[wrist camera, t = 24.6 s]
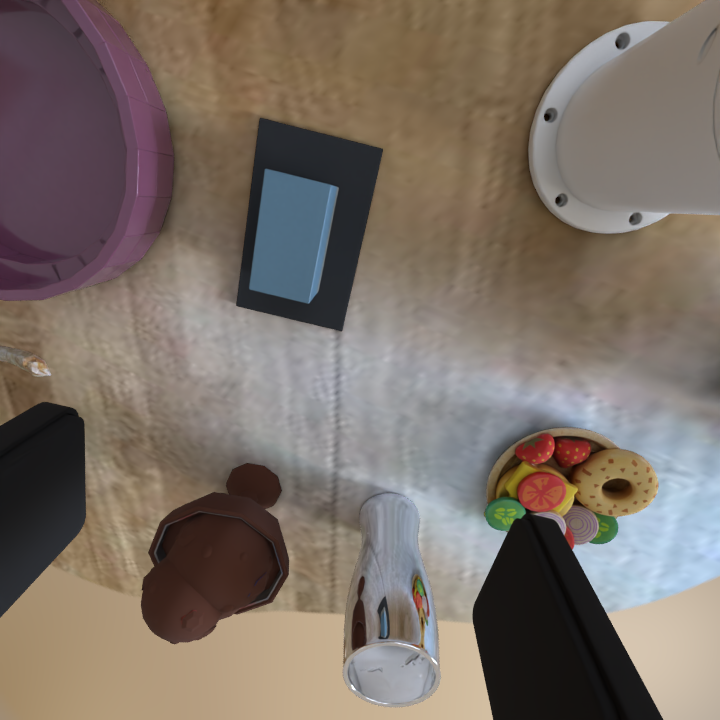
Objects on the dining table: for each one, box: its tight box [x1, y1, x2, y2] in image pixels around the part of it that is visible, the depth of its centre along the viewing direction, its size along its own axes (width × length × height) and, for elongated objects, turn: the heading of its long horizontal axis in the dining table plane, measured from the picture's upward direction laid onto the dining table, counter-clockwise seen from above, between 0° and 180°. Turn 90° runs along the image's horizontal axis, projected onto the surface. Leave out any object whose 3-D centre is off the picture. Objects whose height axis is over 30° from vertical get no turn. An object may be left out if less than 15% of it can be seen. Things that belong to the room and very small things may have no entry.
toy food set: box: [484, 427, 658, 550], centre depth 38 cm, size 13×13×3 cm
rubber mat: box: [236, 118, 383, 331], centre depth 32 cm, size 14×9×1 cm, turn 167°
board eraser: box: [249, 169, 339, 304], centre depth 30 cm, size 8×4×4 cm, turn 167°
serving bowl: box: [0, 0, 174, 301], centre depth 28 cm, size 22×22×6 cm
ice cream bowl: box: [141, 463, 289, 644], centre depth 34 cm, size 11×11×15 cm
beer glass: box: [343, 493, 441, 707], centre depth 35 cm, size 7×7×15 cm
